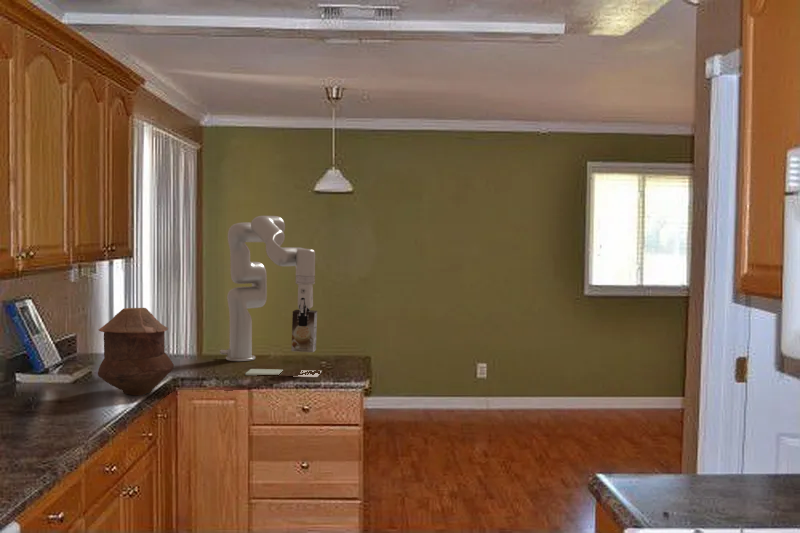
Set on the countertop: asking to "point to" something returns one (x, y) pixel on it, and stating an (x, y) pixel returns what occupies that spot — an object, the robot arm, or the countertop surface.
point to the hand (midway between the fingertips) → (304, 324)
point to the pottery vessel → (134, 352)
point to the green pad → (264, 372)
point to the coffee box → (304, 332)
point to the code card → (308, 374)
